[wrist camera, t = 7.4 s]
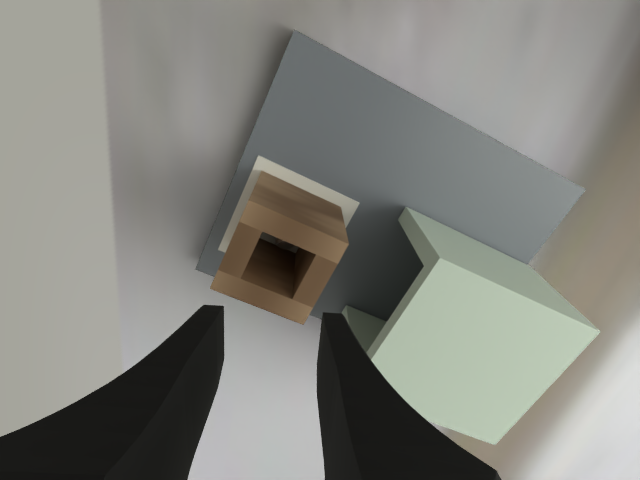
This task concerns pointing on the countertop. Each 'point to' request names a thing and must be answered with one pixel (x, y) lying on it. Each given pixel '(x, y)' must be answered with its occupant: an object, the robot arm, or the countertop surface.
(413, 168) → the plate
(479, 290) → the block
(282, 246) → the pin post
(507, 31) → the countertop surface
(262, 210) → the sleeve
